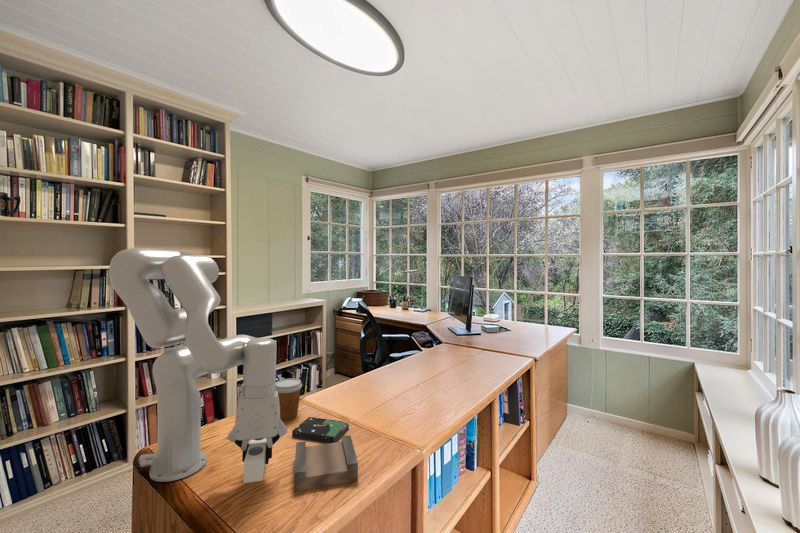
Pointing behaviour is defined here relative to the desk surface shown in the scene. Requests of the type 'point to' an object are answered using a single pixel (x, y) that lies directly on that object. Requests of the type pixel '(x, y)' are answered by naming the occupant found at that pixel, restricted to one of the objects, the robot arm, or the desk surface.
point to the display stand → (325, 464)
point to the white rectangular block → (255, 460)
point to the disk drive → (320, 430)
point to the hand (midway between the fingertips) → (257, 461)
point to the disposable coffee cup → (288, 397)
